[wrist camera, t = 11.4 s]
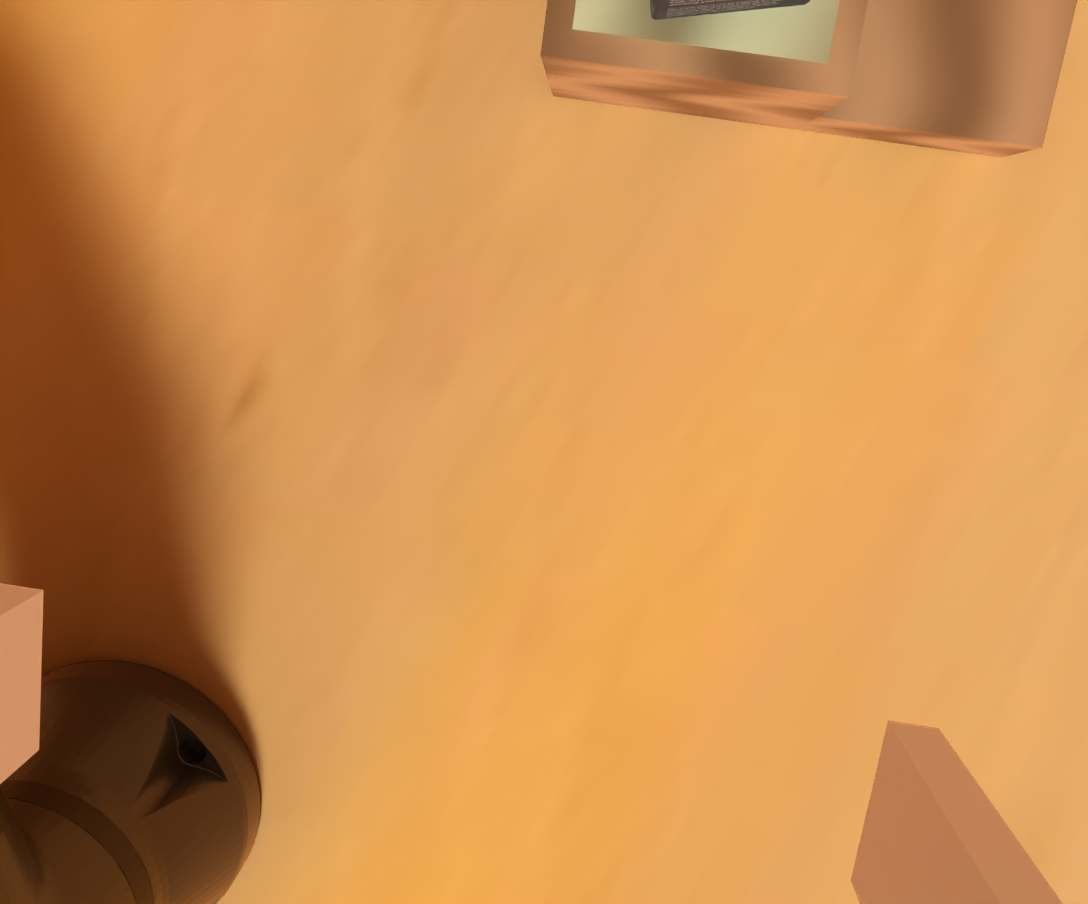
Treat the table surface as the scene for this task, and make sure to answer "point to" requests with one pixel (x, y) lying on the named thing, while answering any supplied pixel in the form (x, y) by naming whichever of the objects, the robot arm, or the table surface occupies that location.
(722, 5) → the box
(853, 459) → the table surface
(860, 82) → the stand
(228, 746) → the robot arm
